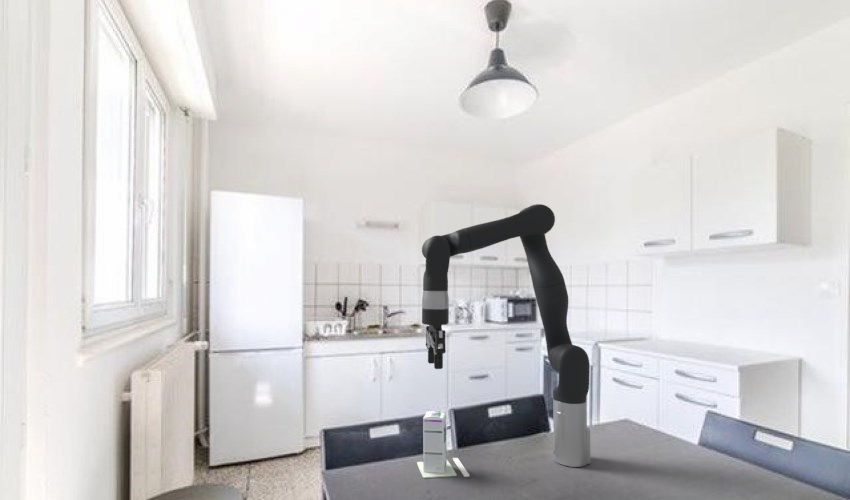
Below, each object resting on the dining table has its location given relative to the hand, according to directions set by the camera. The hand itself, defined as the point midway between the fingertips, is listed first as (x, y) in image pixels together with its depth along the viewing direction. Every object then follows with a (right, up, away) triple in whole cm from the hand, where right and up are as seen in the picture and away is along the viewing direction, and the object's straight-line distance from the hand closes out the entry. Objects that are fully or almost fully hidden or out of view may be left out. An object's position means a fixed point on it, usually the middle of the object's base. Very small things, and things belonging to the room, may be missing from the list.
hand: (435, 365), depth 122 cm
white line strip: (+7, -28, -1) cm, 29 cm away
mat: (0, -28, -2) cm, 28 cm away
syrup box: (0, -28, -2) cm, 28 cm away
